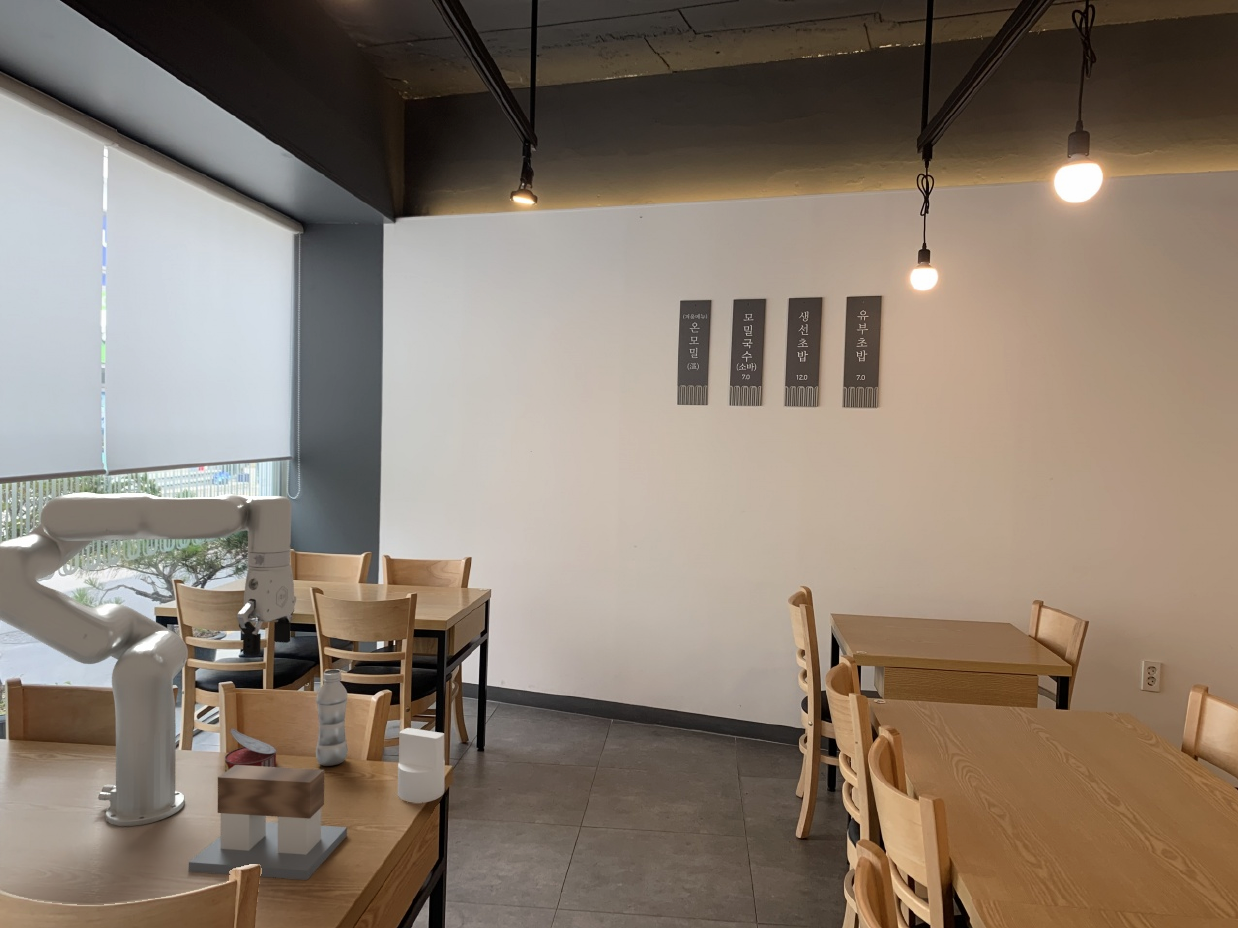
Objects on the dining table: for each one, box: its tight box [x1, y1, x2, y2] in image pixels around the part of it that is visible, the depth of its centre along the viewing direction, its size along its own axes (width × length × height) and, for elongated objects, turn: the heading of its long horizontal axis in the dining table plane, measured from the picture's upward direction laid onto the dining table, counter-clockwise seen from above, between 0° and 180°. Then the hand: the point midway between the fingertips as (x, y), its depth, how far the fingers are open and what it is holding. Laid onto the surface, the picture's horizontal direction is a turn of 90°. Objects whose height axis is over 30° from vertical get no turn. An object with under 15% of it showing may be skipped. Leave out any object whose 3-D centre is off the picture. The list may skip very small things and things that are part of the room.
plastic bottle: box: [315, 668, 348, 767], centre depth 166 cm, size 6×7×20 cm
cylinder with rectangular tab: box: [397, 727, 446, 804], centre depth 153 cm, size 9×9×12 cm
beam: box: [217, 765, 325, 819], centre depth 129 cm, size 16×5×6 cm, turn 85°
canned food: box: [224, 728, 277, 773], centre depth 164 cm, size 11×10×10 cm
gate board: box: [188, 807, 348, 881], centre depth 129 cm, size 20×14×8 cm
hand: (267, 648), depth 148 cm, fingers open, 9 cm apart
